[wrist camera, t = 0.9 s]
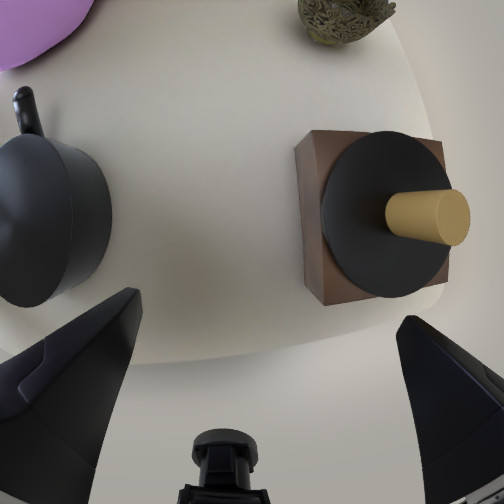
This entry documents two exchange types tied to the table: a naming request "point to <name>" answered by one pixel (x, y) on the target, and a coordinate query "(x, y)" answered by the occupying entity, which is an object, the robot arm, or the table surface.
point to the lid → (390, 214)
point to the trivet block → (310, 193)
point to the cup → (343, 18)
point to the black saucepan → (48, 212)
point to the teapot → (36, 27)
